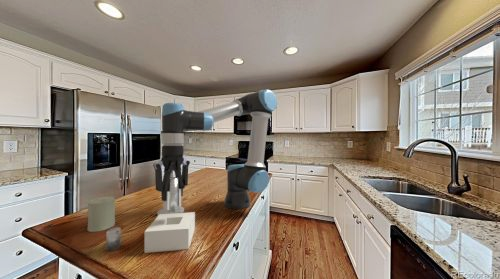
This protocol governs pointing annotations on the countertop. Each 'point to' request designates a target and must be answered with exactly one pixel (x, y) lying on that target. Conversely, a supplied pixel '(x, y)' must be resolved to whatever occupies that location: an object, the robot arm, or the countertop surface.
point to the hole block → (170, 232)
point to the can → (101, 214)
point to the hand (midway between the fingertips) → (172, 207)
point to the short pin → (113, 238)
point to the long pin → (173, 194)
